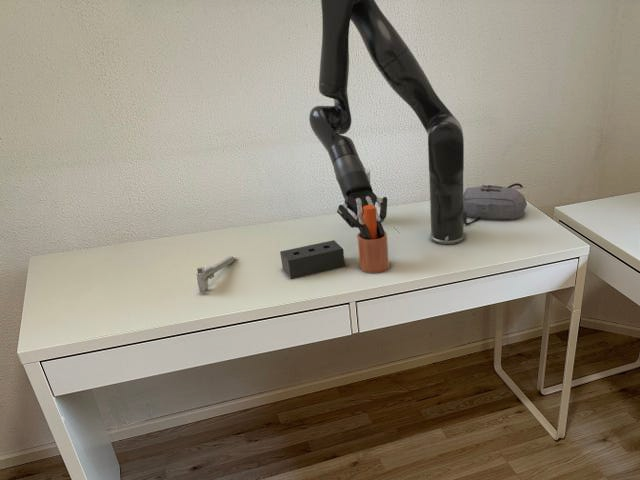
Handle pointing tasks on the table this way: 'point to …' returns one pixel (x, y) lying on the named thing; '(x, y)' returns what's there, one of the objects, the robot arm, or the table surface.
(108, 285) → the table surface
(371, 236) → the orange screwdriver
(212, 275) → the caliper
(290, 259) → the holder
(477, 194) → the soft grey pack
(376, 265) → the pen cup
